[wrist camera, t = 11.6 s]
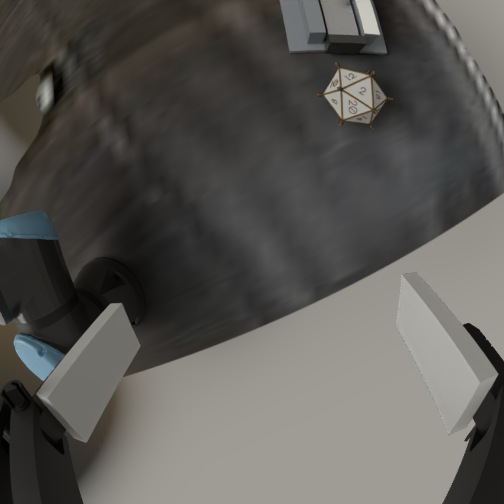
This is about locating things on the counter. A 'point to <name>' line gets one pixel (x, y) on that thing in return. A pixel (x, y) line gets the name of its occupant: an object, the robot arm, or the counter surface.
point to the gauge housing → (313, 30)
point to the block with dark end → (340, 28)
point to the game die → (355, 96)
